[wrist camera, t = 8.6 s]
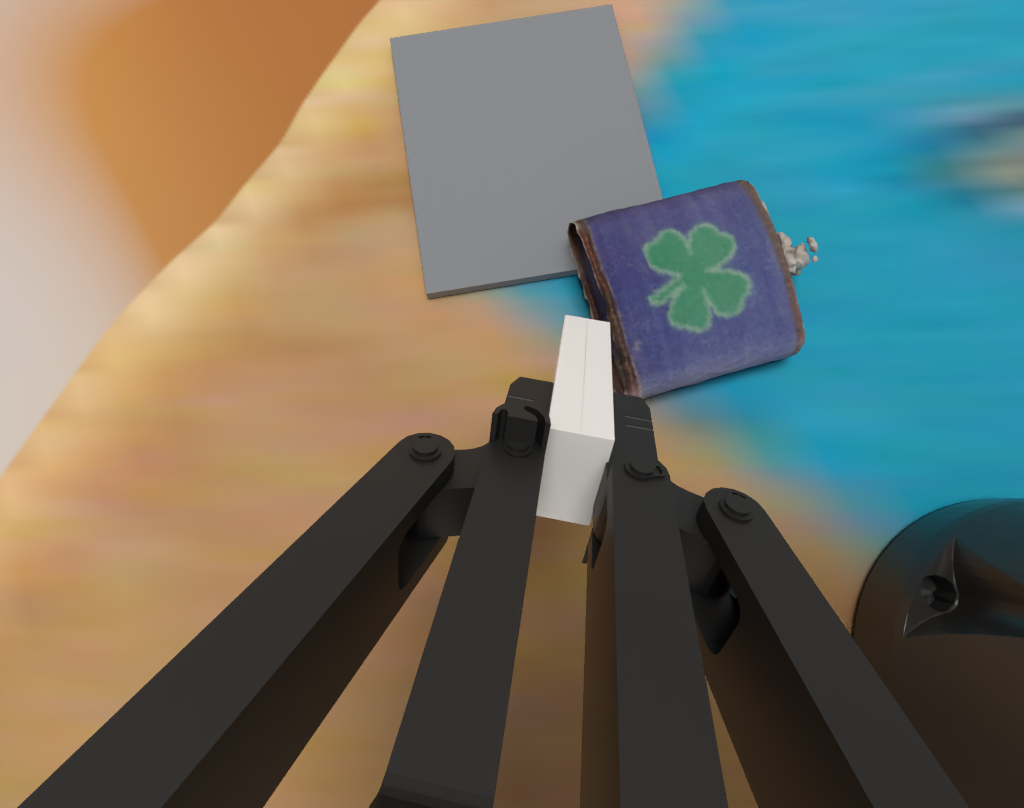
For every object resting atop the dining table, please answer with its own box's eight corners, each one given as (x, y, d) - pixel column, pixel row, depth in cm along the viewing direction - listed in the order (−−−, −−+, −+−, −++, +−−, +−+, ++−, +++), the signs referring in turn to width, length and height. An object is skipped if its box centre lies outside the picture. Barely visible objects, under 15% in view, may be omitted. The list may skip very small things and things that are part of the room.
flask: (616, 407, 24) (819, 349, 25) (631, 400, 21) (861, 335, 22) (563, 236, 25) (759, 183, 26) (571, 206, 22) (792, 147, 23)
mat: (673, 258, 26) (676, 252, 25) (428, 298, 25) (426, 293, 25) (609, 14, 29) (611, 4, 28) (392, 47, 29) (389, 38, 28)
